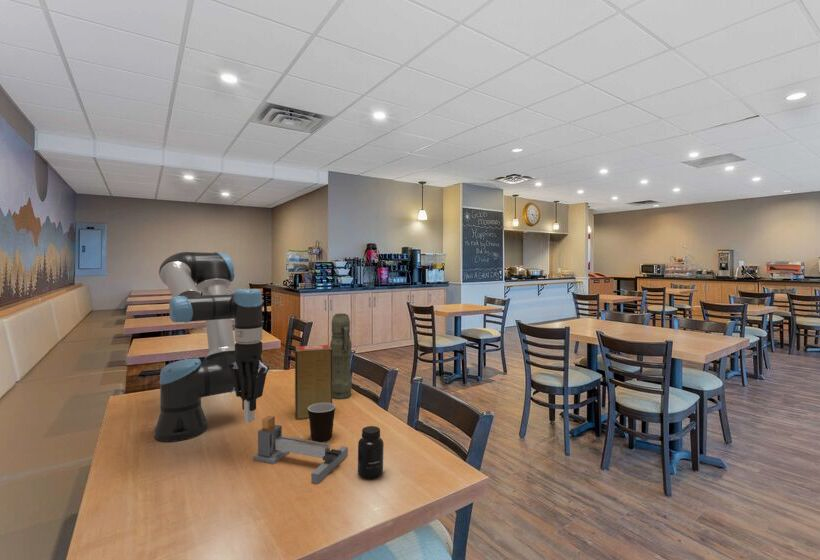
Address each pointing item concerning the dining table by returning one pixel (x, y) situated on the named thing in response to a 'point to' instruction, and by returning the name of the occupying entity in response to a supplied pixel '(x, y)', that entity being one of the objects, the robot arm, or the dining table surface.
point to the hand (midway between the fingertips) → (249, 420)
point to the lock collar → (268, 436)
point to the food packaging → (312, 377)
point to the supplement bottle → (370, 453)
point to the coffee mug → (321, 421)
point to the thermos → (341, 357)
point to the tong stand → (317, 473)
